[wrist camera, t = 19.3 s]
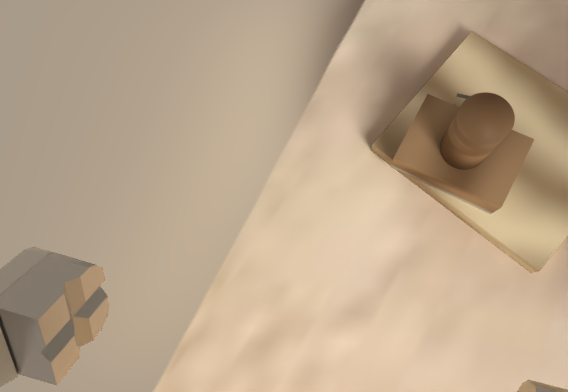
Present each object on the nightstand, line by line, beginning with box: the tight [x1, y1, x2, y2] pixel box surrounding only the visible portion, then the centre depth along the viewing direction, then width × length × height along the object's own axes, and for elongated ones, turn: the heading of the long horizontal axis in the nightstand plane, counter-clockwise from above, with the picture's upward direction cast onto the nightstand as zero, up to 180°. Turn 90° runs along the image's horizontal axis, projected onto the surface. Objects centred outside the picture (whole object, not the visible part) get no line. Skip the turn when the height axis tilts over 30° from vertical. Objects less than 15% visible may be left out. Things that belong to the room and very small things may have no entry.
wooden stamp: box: [391, 92, 534, 214], centre depth 31 cm, size 8×6×8 cm
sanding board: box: [371, 32, 568, 273], centre depth 35 cm, size 13×15×2 cm
